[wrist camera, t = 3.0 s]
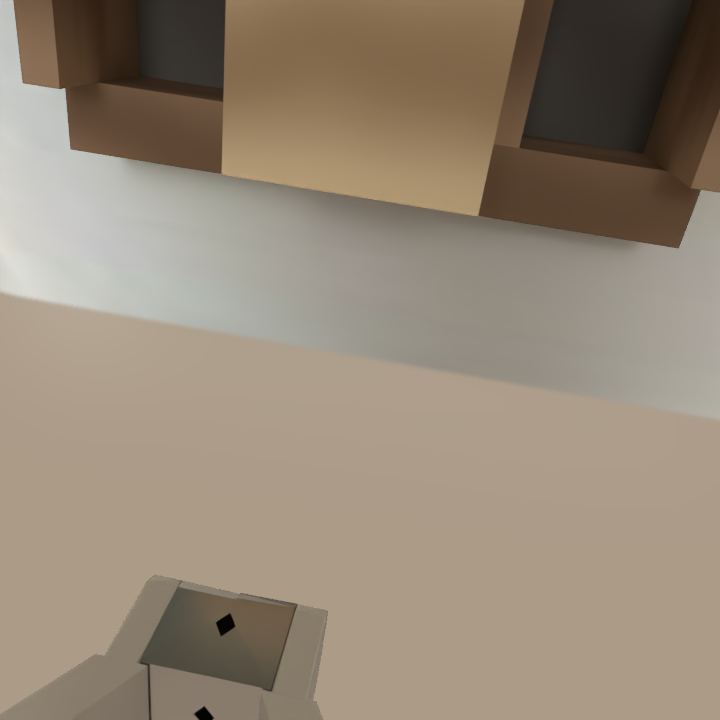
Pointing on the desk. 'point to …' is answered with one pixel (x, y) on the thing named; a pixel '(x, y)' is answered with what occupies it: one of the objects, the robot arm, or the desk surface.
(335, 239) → the desk surface
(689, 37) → the box
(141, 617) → the robot arm
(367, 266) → the desk surface
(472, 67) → the maple block
